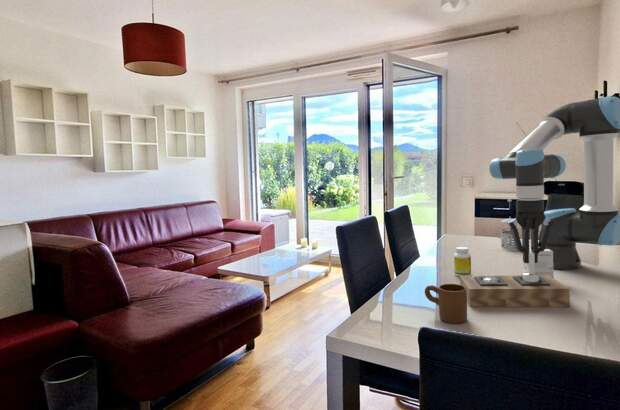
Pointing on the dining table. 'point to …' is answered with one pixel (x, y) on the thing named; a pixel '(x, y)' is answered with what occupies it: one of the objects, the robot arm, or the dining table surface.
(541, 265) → the ink box
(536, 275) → the peg
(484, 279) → the peg
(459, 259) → the pill bottle
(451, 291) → the mug
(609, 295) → the dining table surface
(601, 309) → the dining table surface
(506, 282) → the block
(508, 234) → the french press
